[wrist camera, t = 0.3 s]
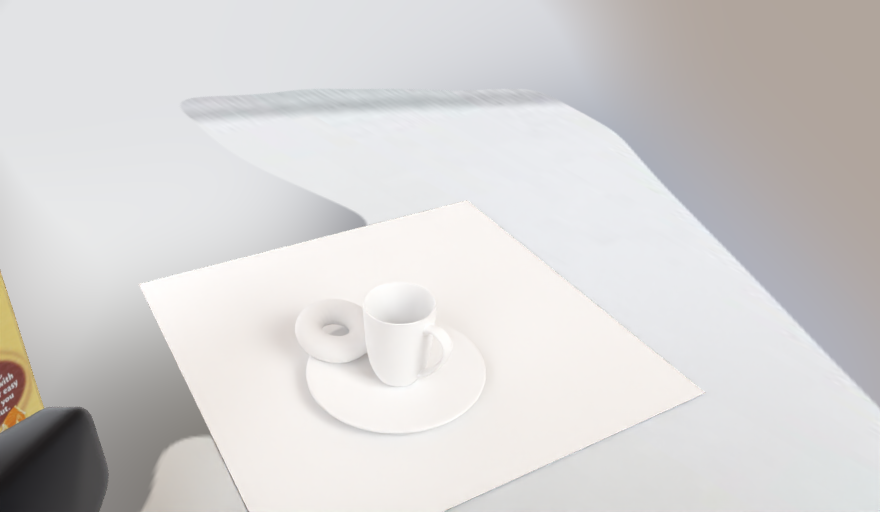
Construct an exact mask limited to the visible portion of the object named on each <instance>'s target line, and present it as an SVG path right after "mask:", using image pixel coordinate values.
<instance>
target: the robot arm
mask: <svg viewBox="0 0 880 512" xmlns="http://www.w3.org/2000/svg"><path fill="white" fill-rule="evenodd" d="M107 485H108V467H107V463H106V460H105V456H104V453H103V450H102V447H101V444H100V441H99V437H98V434H97V431H96V428H95V425H94V421H93V419H92V416H91V414H90V413H89V412H88V411H87V410H86V409H84V408H82V407H48V408H44V409H42V410H40V411H38V412H36V413H34V414H33V415H31V416H29V417H27V418H26V419H24V420H22V421H20V422H19V423H17V424H15V425H13V426H12V427H10V428H8V429H6V430H5V431H3V432H1V433H0V512H99V511H100V508H101V505H102V502H103V499H104V496H105V493H106V490H107Z"/></svg>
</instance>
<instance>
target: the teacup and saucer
mask: <svg viewBox="0 0 880 512" xmlns="http://www.w3.org/2000/svg"><path fill="white" fill-rule="evenodd" d="M437 307H438V302H437V299H436V297H435V295H434V294H433V293H432V292H431V291H430V290H429V289H428V288H426V287H424V286H422V285H420V284H418V283H414V282H410V281H389V282H384V283H381V284H378V285H376V286H374V287H372V288H371V289H370V290H368V291H367V292H366V294H365V295H364V296H363V299H362V306H361V305H359V304H357V303H355V302H353V301H349V300H346V299H341V298H325V299H321V300H318V301H315V302H313V303H310V304H309V305H307V306H306V307H305V308H304V309H303V310H302V311H301V312H300V313H299V314H298V316H297V318H296V320H295V324H294V334H295V336H296V340H297V342H298V344H299V345H300V347H301V348H302V349H303V350H304V351H305V352H306V353H307V354H308V355H309V357H308V360H307V363H306V368H305V380H306V384H307V388H308V390H309V392H310V394H311V396H312V398H313V399H314V400H315V402H316V403H317V404H318V405H319V406H320V407H321V408H322V409H323V410H324V411H325V412H326V413H328V414H329V415H330V416H332V417H333V418H335V419H336V420H338V421H340V422H342V423H344V424H346V425H349V426H351V427H354V428H357V429H360V430H364V431H368V432H373V433H380V434H412V433H419V432H424V431H428V430H432V429H435V428H438V427H441V426H444V425H446V424H448V423H450V422H452V421H454V420H456V419H457V418H459V417H460V416H462V415H463V414H465V413H466V412H467V411H468V410H469V409H470V408H471V407H472V406H473V405H474V404H475V403H476V402H477V401H478V399H479V398H480V396H481V394H482V392H483V390H484V388H485V385H486V380H487V368H486V363H485V360H484V358H483V355H482V353H481V352H480V350H479V349H478V347H477V346H476V345H475V343H474V342H473V341H472V340H471V339H470V338H469V337H467V336H466V335H465V334H464V333H462V332H461V331H460V330H458V329H456V328H455V327H453V326H451V325H449V324H447V323H445V322H442V321H440V320H437V319H436V318H437ZM330 325H336V326H339V327H337V328H335V329H334V330H332V331H331V332H329V333H327V332H325V331H324V330H323V328H324V327H326V326H330ZM376 379H377V380H380V381H381V382H382V383H383V384H385V385H387V386H389V387H393V388H396V389H397V390H391V389H390V388H387V387H386V386H383V385H382V384H380V383H379V382H377V381H376Z"/></svg>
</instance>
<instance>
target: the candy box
mask: <svg viewBox="0 0 880 512" xmlns="http://www.w3.org/2000/svg"><path fill="white" fill-rule="evenodd" d="M42 409H44V406H43V403H42V400H41V397H40V394H39V391H38V388H37V385H36V381H35V379H34V375H33V372H32V369H31V366H30V362H29V359H28V356H27V353H26V349H25V346H24V343H23V340H22V337H21V334H20V331H19V327H18V324H17V321H16V318H15V314H14V312H13V308H12V305H11V302H10V299H9V296H8V293H7V290H6V287H5V284H4V281H3V278H2V275H1V271H0V433H1V432H3V431H5V430H6V429H8V428H10V427H12V426H13V425H15V424H17V423H19V422H20V421H22V420H24V419H26V418H27V417H29V416H31V415H33V414H34V413H36V412H38V411H40V410H42Z"/></svg>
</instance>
